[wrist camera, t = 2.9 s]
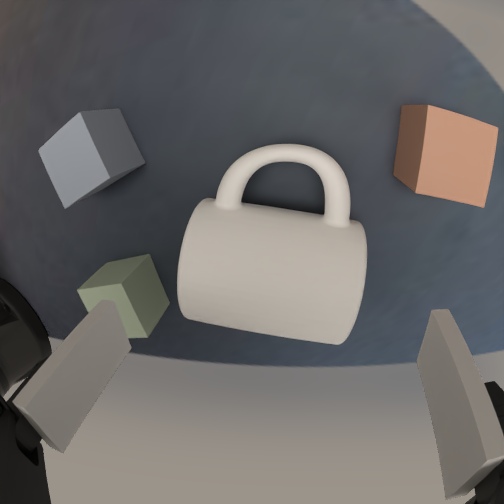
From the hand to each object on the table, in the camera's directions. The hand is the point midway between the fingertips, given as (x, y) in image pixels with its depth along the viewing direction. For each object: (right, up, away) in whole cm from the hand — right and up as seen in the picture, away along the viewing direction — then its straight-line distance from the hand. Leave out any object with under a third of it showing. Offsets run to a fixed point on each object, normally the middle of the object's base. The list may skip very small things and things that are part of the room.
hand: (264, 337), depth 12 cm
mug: (+2, +6, +11) cm, 12 cm away
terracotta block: (+12, +11, +6) cm, 17 cm away
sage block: (-11, +1, +15) cm, 19 cm away
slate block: (-12, +11, +10) cm, 19 cm away
